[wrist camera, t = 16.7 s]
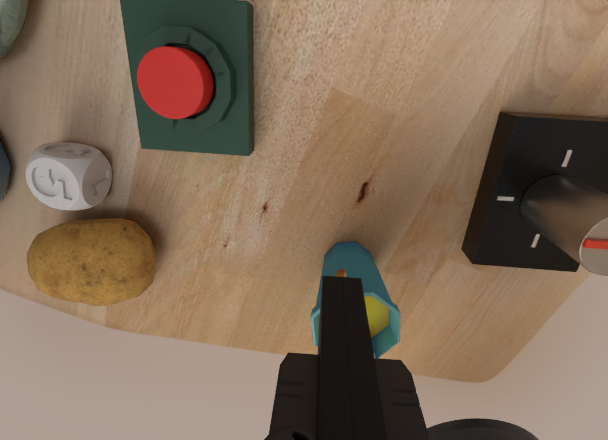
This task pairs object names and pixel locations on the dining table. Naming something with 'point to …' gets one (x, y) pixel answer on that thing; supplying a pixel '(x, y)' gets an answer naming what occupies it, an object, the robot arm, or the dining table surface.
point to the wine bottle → (4, 172)
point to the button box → (220, 59)
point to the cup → (380, 309)
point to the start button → (174, 82)
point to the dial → (570, 218)
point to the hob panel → (522, 174)
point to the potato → (93, 261)
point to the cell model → (11, 22)
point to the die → (68, 175)
